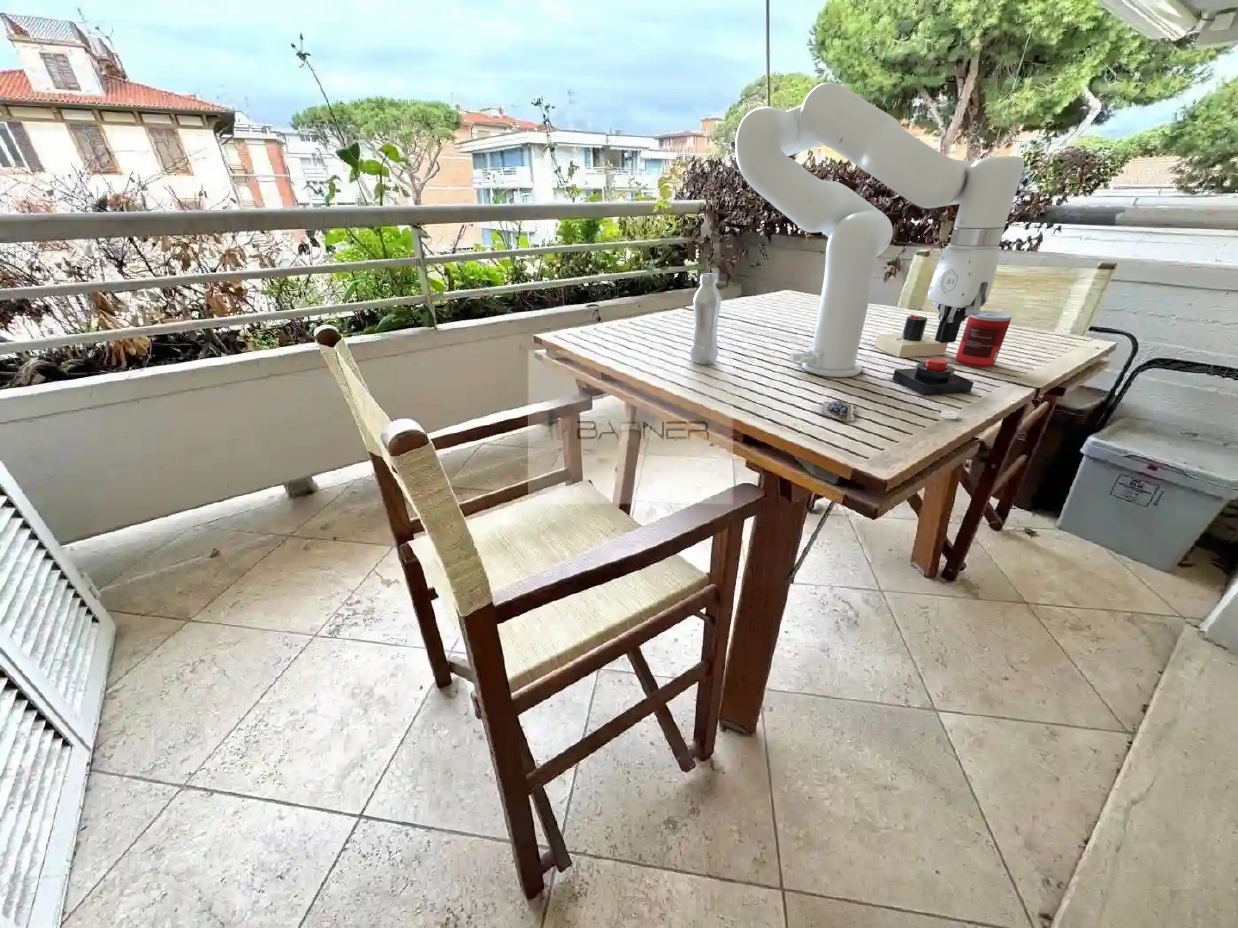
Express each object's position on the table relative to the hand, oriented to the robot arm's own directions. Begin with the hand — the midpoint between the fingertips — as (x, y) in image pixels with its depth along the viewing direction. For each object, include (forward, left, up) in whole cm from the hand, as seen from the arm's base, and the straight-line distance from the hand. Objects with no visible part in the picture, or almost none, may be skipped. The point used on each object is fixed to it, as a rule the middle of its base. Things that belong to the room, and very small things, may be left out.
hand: (944, 341), depth 95 cm
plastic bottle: (-41, +24, -9) cm, 49 cm away
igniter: (0, 0, -9) cm, 9 cm away
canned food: (+20, +12, -9) cm, 25 cm away
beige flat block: (+12, +24, -9) cm, 28 cm away
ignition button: (0, 0, -6) cm, 6 cm away
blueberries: (-25, -10, -9) cm, 29 cm away
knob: (+12, +24, -6) cm, 28 cm away
